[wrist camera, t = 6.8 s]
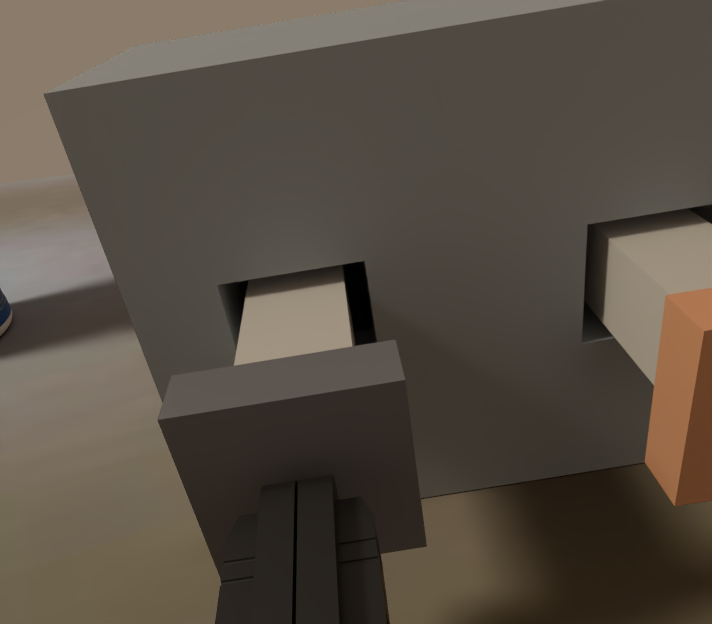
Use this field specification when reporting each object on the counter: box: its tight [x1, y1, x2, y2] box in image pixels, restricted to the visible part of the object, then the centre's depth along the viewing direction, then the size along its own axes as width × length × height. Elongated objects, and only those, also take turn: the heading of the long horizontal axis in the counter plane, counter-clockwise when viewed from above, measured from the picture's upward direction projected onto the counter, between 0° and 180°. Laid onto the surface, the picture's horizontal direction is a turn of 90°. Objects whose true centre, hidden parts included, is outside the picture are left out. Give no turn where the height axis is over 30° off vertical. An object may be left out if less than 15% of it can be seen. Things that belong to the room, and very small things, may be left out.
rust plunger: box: [584, 208, 712, 506], centre depth 18 cm, size 10×5×5 cm, turn 5°
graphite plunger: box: [158, 265, 427, 578], centre depth 18 cm, size 10×5×5 cm, turn 5°
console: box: [44, 0, 712, 498], centre depth 23 cm, size 10×21×16 cm, turn 95°
